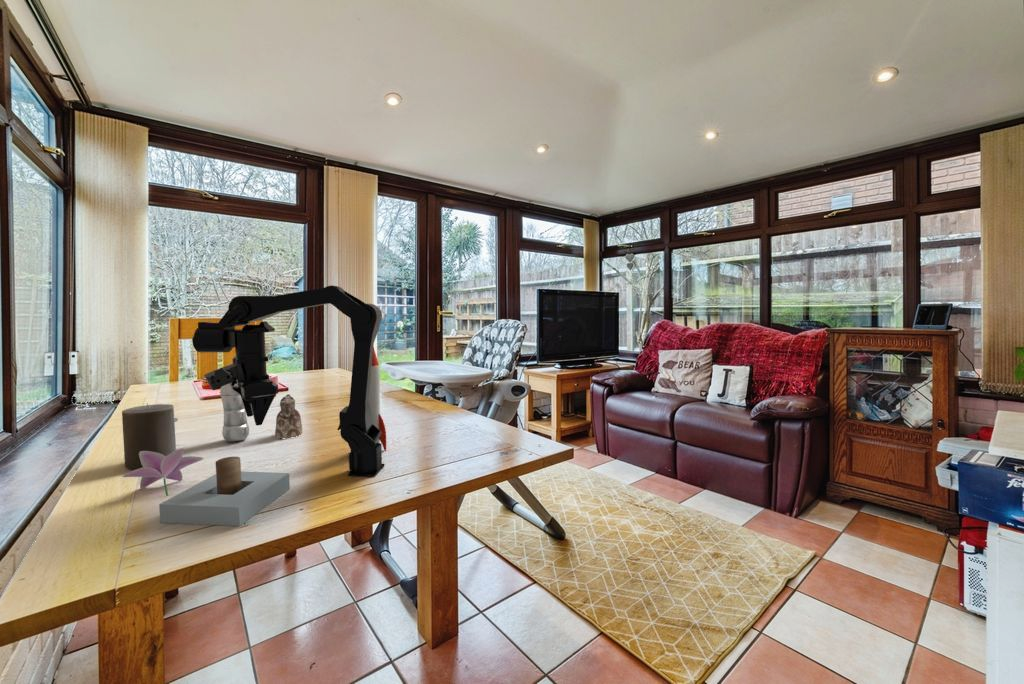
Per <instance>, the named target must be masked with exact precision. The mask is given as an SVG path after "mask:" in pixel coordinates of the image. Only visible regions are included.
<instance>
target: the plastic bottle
mask: <svg viewBox="0 0 1024 684" xmlns="http://www.w3.org/2000/svg"><path fill="white" fill-rule="evenodd" d="M234 386H235V385H234ZM231 387H233V386H231V385H229V384H227V385H224V386H222V387H221V388H219V389H220V390H219V393H220V398H221V403H222V409H223V426H222V432H221V434H222V438H223V440H224V441H225V442H231V443H233V442H239V441H244V440H246V439H247V438H248V437H249V435H250V426H249V424H248V417H247V415H246V411H245V408H244V405H243V402H242V399H241V396H240V394H239V393H237V392H236V391H235V390H233V389H232V388H231Z"/></svg>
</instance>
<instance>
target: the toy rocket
mask: <svg viewBox="0 0 1024 684" xmlns="http://www.w3.org/2000/svg"><path fill="white" fill-rule="evenodd" d="M376 354H377V353H376V351H375V346H374V345H373V356H372V367H371V378H370V389H369V405H370V409H371V416H372V423H373V424H374V425H375V426H376V427H377V428H378V429H379V430H381V431H382V433H381V436H380V439H379V440H378V442H377V443H381V446H382V447H383V451H385V450H386V451H387V429H386V425H385V422H384V419H383V417H382V415H381V407H380V406H381V405H380V404H381V403H380V402H381V400H380V399H381V384H380V383H381V382H380V381H381V380H380V379H381V375H380V374H381V369H380V364H379V360H378V358H377V357H378V356H377V355H376Z"/></svg>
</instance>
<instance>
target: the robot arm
mask: <svg viewBox="0 0 1024 684" xmlns="http://www.w3.org/2000/svg"><path fill="white" fill-rule="evenodd" d="M329 304H331V306H333V307H334V308H336V309H337V310H338V311H339V312H341V313H342V314H343V315H345V316H347V317H348V318H349V321H350V327H351V333H352V338H353V341H354V345H353V358H352V368H351V369H352V371H351V381H350V382H351V383H350V390H349V391H350V395H349V403H348V405H346V406H344V408H342V409H341V411H339V412H338V413H339V415H338V416H339V417H338V419H339V425H338V427H337V429H336V430H337V431H339V433H340V437H341V439H343V440H344V441H345V442H346V443H347V445H348V447H349V449H350V451H349V453H348V469H349V471H348V472H347V475H348V476H356V477H376V476H377V475H378V474H379V472H380V471H382V469H383V468H384V467H385V466H386V465H385V463H383V461H382V458H383V457H382V454H383V453H382V443H381V442H380V443H377V442H378V440H379V439H380V436H381V433H382V431H381V430H379V429H378V428H377V427H376V426H375V425H374V424H373V423H372V416H371V409H370V405H369V389H370V378H371V367H372V356H373V346H374V345H375V341H376V338H377V335H378V333H379V329H380V325H381V323H382V320H383V319H382V318H383V313H382V311H381V309H380V307H378V306H377V305H376V304H374V303H373V304H372V303H365V302H364V300H363V301H362V300H361V299H360V298H358V297H356V296H354V295H353V294H351V293H349V292H347V291H346V290H344V288H343V287H342V286H338V285H328V286H325V287H320V288H315V289H309V290H307V289H306V290H302V291H295V292H290V293H283V294H277V295H237V296H234V297H233V298H231V300H230V302H229V304H228V309H227V311H226V312H225V313H224V315H223V316H222V317H221V319H220V320H219V321H218V322H212V321H199V322H198V323H197V328H196V330H195V331H194V334H193V337H192V338H191V339H192V340H191V341H192V345H193V349H194V350H195V351H196V352H197V353H204V354H205V353H210V354H213V353H214V354H215V353H230V352H231V351H232V350H233V349H234V348H235V350H234V352H235V356H233V358H232V363H231V364H229V365H228V364H227V365H225V366H222V367H220V368H217V369H214V370H212V371H209V372H207V373H205V374H204V378H205V379H206V380H205V381H206V382H207V383H208V385H209V388H210V389H211V390H212V391H216V390H219V389H221V387H222V386H224V385H227V384H229V385H231V386H233V387H231V388H232V389H233V390H235V391H236V392H237V393H239V394H240V396H241V399H242V402H243V405H244V408H245V411H246V417H247V418H249V417H253V420H254V423H255V425H256V426H262V425H263V423H264V421H265V418H266V416H267V414H268V411H269V410H270V407H271V405H272V403H273V401H274V399H275V398H276V397H277V394H278V393H279V386H278V384H277V383H276V382H275V381H273V380H271V379H270V375H269V374H268V373H267V362H269V356H267V354H266V336H265V335H266V333H271V332H275V331H276V328H274V327H273V326H272V325H270V323H268V321H262V320H265V319H269V318H271V317H275V316H276V315H278V314H281V313H284V312H289V311H290V312H291V311H294V310H300V309H301V310H302V309H305V308H306V309H307V308H312V307H317V306H318V307H319V306H323V305H324V306H325V305H329ZM251 322H252V323H253V322H259V324H250V323H251ZM240 326H242V328H236V327H240ZM234 385H235V386H234Z"/></svg>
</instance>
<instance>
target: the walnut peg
mask: <svg viewBox="0 0 1024 684" xmlns="http://www.w3.org/2000/svg"><path fill="white" fill-rule="evenodd" d="M214 463H215V474H216V478H217V494H223V495H234V494H235V493H237V492H238V491H240V490H242V481H241V471H242V463H241V457H239V456H228V457H227V456H226V457H223V458H219V459H217V460H216V461H215V462H214Z"/></svg>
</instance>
